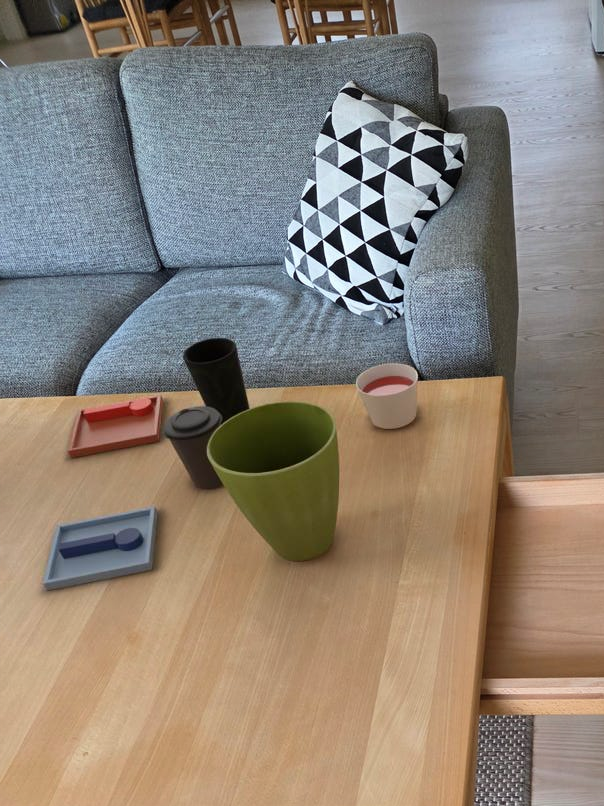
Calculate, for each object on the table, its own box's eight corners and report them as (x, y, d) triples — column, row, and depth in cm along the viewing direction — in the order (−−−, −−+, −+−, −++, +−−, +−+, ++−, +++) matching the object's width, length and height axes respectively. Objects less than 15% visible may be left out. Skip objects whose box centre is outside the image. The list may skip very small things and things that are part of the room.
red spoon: (86, 426, 136) (82, 417, 135) (89, 415, 138) (85, 406, 137) (152, 414, 137) (149, 405, 135) (154, 403, 139) (150, 394, 138)
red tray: (70, 457, 130) (67, 451, 130) (80, 416, 139) (77, 409, 138) (159, 441, 131) (156, 434, 131) (163, 401, 140) (160, 394, 139)
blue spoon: (62, 564, 112) (57, 554, 111) (66, 547, 114) (60, 538, 113) (142, 548, 113) (138, 538, 111) (144, 532, 115) (140, 522, 114)
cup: (269, 416, 133) (246, 343, 125) (234, 442, 129) (209, 368, 121) (233, 405, 137) (209, 333, 128) (198, 430, 133) (171, 357, 124)
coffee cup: (207, 457, 127) (184, 396, 120) (252, 467, 124) (231, 405, 117) (172, 489, 122) (146, 427, 115) (218, 500, 119) (194, 437, 112)
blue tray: (46, 590, 109) (42, 583, 108) (60, 532, 117) (56, 525, 117) (152, 569, 110) (148, 562, 109) (158, 513, 118) (154, 506, 118)
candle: (363, 406, 133) (355, 368, 128) (421, 397, 133) (415, 359, 129) (364, 438, 127) (356, 399, 122) (425, 429, 127) (419, 390, 122)
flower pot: (329, 592, 104) (296, 482, 92) (223, 572, 108) (180, 464, 97) (381, 516, 113) (357, 408, 102) (282, 500, 118) (249, 395, 106)
